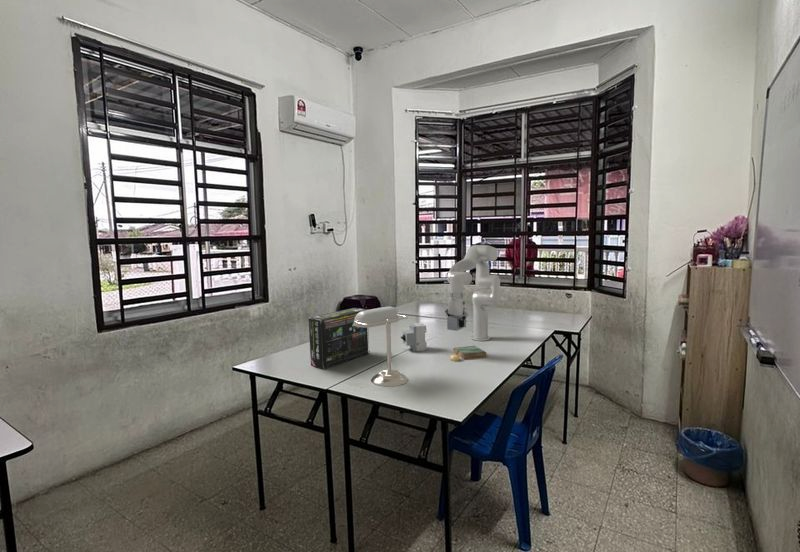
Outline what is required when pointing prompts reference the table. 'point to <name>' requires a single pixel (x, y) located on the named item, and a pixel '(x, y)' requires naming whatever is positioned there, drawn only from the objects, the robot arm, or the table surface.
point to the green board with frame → (469, 352)
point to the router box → (336, 338)
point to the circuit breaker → (415, 337)
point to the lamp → (387, 317)
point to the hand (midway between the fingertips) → (456, 325)
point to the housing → (454, 322)
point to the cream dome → (454, 357)
